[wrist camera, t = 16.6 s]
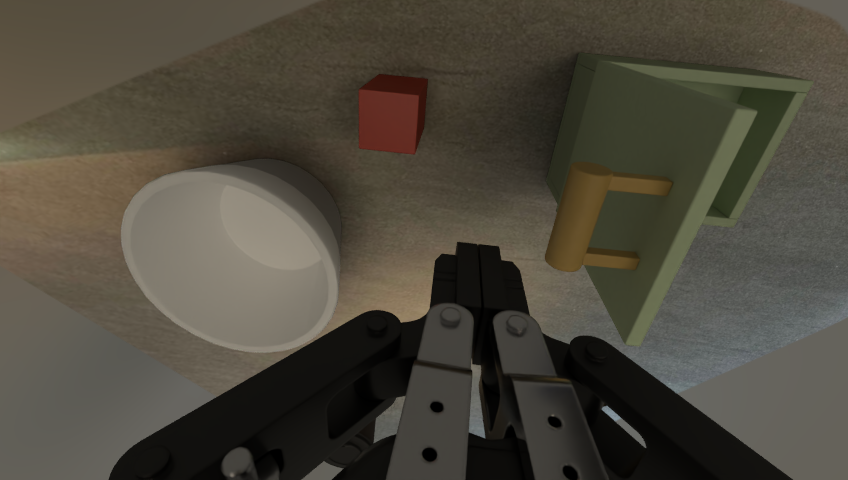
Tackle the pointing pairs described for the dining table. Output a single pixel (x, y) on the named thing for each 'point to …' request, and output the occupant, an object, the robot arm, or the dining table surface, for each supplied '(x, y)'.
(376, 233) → the dining table surface
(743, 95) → the chest
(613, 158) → the lid
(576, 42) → the dining table surface
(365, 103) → the block
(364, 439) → the coffee cup
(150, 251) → the bowl
